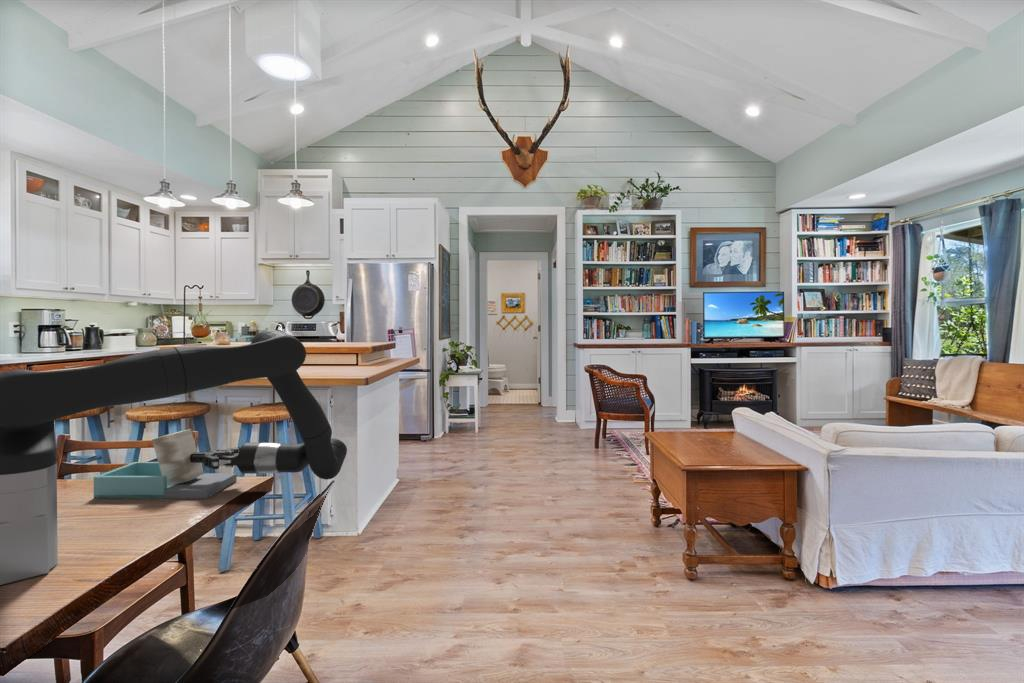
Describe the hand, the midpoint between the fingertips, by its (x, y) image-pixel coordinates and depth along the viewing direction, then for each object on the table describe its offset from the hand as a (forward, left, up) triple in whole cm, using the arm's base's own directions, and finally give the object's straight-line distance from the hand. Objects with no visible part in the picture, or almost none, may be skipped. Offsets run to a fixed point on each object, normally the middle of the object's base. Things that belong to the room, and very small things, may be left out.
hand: (192, 457), depth 128 cm
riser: (-2, -2, -8) cm, 8 cm away
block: (+1, +1, -6) cm, 6 cm away
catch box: (+8, +7, -8) cm, 13 cm away
